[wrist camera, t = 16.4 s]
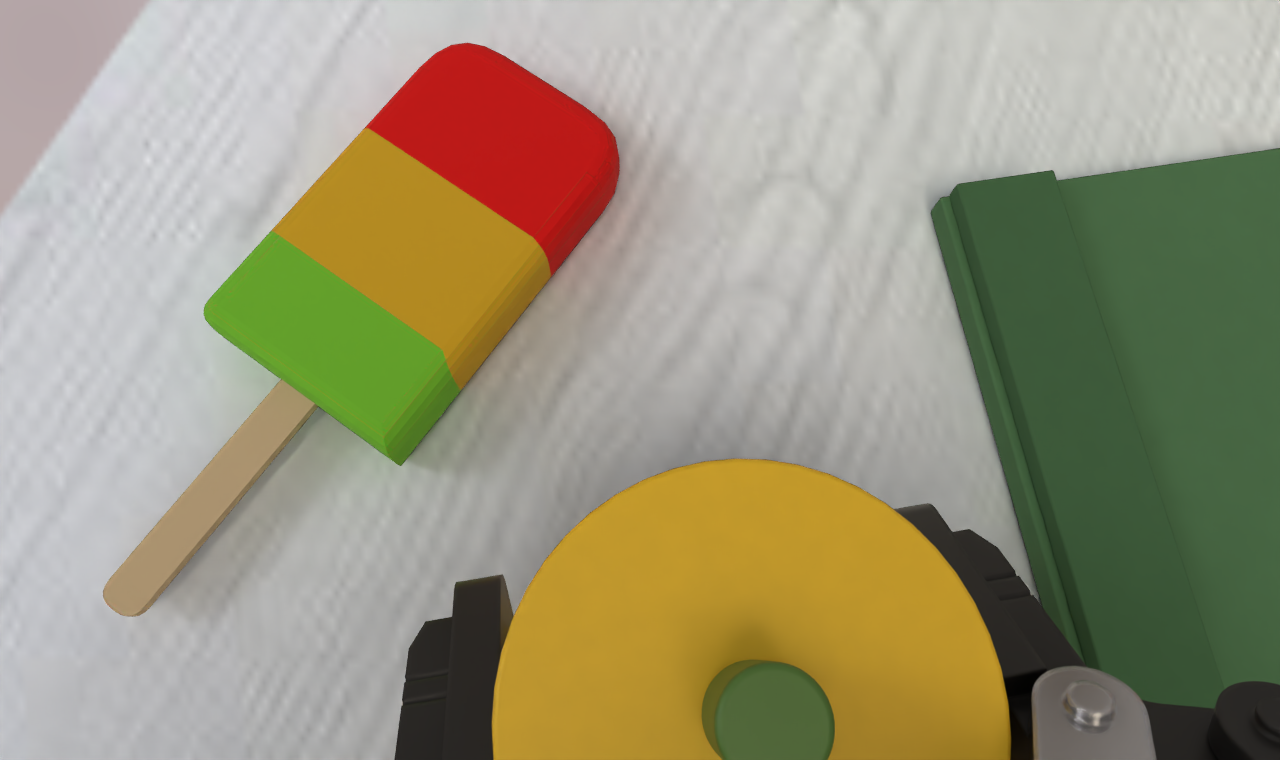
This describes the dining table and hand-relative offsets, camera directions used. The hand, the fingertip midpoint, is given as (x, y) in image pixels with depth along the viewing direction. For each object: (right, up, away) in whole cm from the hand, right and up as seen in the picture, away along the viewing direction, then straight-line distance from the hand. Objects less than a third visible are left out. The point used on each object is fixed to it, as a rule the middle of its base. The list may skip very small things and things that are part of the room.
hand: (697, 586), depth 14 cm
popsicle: (-7, +4, +7) cm, 11 cm away
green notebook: (+14, +1, +6) cm, 15 cm away
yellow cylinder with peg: (0, -3, +4) cm, 5 cm away
